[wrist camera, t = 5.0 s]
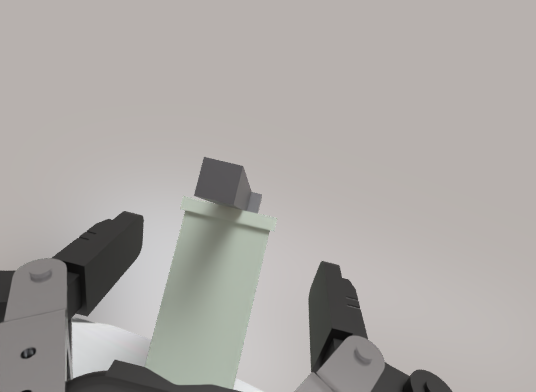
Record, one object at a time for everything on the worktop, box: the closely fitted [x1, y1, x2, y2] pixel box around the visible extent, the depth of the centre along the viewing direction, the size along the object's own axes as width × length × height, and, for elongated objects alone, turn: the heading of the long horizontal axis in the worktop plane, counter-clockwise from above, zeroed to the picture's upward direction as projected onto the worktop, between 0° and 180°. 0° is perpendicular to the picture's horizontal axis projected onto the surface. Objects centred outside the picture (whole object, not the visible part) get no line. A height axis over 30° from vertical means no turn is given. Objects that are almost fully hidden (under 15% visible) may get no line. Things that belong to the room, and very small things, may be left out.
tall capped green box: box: [145, 196, 277, 389], centre depth 42 cm, size 21×11×32 cm, turn 1°
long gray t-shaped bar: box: [194, 157, 262, 214], centre depth 34 cm, size 26×6×3 cm, turn 1°
